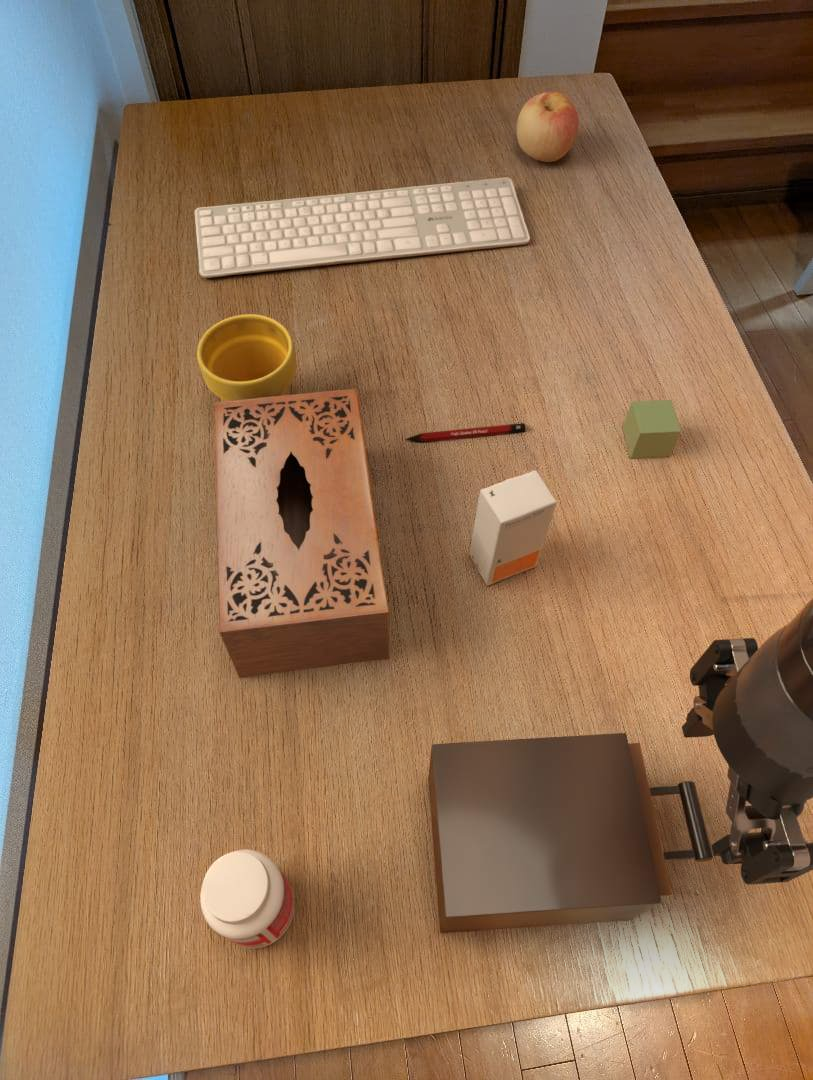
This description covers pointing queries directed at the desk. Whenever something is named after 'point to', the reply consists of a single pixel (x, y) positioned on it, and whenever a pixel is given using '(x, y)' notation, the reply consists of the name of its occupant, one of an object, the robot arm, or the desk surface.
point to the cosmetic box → (511, 526)
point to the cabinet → (538, 833)
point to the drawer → (692, 817)
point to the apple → (547, 126)
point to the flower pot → (247, 358)
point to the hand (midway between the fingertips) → (710, 788)
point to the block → (651, 429)
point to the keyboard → (358, 227)
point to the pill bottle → (247, 899)
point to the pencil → (468, 433)
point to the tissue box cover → (297, 535)
